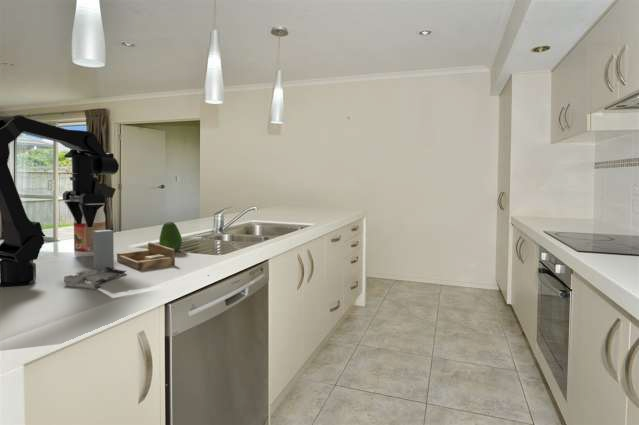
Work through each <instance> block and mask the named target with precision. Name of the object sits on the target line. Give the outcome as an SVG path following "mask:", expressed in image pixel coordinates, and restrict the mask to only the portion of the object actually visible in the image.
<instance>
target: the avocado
mask: <svg viewBox="0 0 639 425" xmlns="http://www.w3.org/2000/svg"><path fill="white" fill-rule="evenodd" d="M182 240H183V239H182V236H181V232H180V230H179V228H178V226H177V225H176V223H175V222H173V221H168V222H164V224H163V225H162V227H161V230H160V235H159V243H158V245H162V246H165V247H168V248H172V249H175V253H178V252H179V251H180V249H181V248H182V244H183V241H182Z"/></svg>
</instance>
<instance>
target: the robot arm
mask: <svg viewBox="0 0 639 425" xmlns="http://www.w3.org/2000/svg"><path fill="white" fill-rule="evenodd" d="M21 134H24V135H29V136H32V137H35V138H36V137H37V138H41V139H44V140H49V141H52V142H57V143H59V144H61V145H62V146H63V147H64V148H67V149H69V152H66V153H65V154H64V155H63V156H64V158H67V159H68V158H70V159H71V176H70V177H69V181H72V182H71V184H72V185H71V186H72V187H71V188H72V189H71V190H65V191H64V192H63V193H62V201H64V204H65V205H66V206H67V208H68V210H69V212H70V213H71V214H70V215H71V216H72V217H73V220H74V219H75V221H76V223H77V224H81V222H82V216H83V217H84V220H85V222H86V224H87V227H92V226H93V222H94V219H95V216H96V213H97V210H98V209H99V208H100V207H102V206H104V207H105V204H107V198H111V199H113V198H114V194H115V192H116V189H117V188H114V187H112V186H109V185H107V183H104V182H101V181H100V182H99V179H97V178H98V177H97V178H95V176H96V175H111V176H112V175H116V174H117V173H118V171H119V168H120V164H119V162H118V160H117V159H116V158H115V156H114V153H109V152H106V151H105V150H104V148H103V146H102V144H101V143H100V142H99V140H98V137H97V136H96V134H95V133H94V132H92V131H88V130H78V129H67V128H63V127H59V126H56V125H52V124H49V123H45V122H43V121H39V120H36V119H32V118H29V117H26V116H24V115H22V114H21V115H20V114H9V115H6V116H4V117H2V118H1V119H0V214H1V217H2V219H3V222H4V223H3V227H2V232H1V233H2V237H3V241H2V242H1V243H0V287H11V286H13V287H14V286H27V285H30V284H31V283H32V282H34V281H35V280H36V279H37V265H36V262H34V261H35V260H37V259H38V258H39V254H40V251H41V249H42V248H43V245H44V244H45V237H46V234H44V231H43V229H42V228H43V227H42V224H41V223H40V221H31V220H30V219H29V217H28V216H27V213H26V209H25V207H24V205H23V202H22V200H21V196H20V194H19V192H18V189H17V186H16V183H15V181H14V178H13V175H12V173H11V170H10V168H9V158H10V151H11V150H10V146H9V144H10V143H11V142H13V141H15V140H17V139H18V137H19V136H20V135H21ZM101 203H105V204H101Z"/></svg>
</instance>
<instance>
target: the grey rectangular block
mask: <svg viewBox="0 0 639 425" xmlns="http://www.w3.org/2000/svg"><path fill="white" fill-rule="evenodd" d="M114 250H115V249H114V230H111V229H105V230H98V231H93V256H92V257H93V258H92V259H93V269H95V270H101V269H103V268H104V267H106V266H107V267H111V268H114V266H115V265H114V264H115V263H114V258H115V256H114V254H115V253H114Z"/></svg>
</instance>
